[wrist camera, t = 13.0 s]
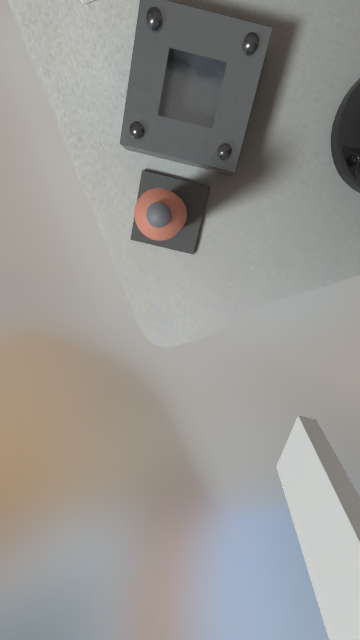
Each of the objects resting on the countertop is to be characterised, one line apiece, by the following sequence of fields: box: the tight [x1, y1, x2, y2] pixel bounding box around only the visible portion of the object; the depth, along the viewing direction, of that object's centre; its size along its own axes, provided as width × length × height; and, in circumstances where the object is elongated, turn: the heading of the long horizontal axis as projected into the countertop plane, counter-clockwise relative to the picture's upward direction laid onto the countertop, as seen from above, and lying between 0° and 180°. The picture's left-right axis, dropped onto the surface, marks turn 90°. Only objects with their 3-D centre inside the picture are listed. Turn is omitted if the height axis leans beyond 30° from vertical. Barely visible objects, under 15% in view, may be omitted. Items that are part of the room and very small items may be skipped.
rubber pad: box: [131, 170, 209, 254], centre depth 43 cm, size 9×9×1 cm
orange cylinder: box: [134, 188, 188, 241], centre depth 37 cm, size 5×5×13 cm
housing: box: [120, 0, 272, 175], centre depth 37 cm, size 14×14×5 cm
